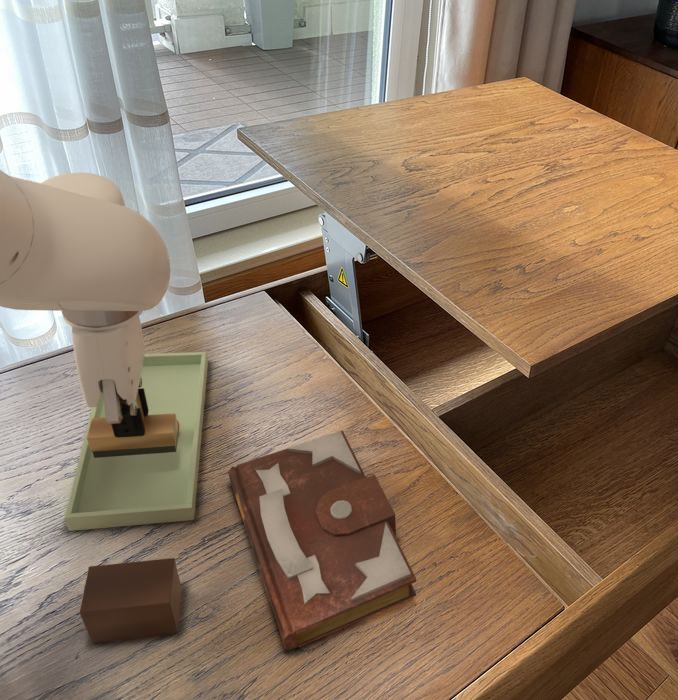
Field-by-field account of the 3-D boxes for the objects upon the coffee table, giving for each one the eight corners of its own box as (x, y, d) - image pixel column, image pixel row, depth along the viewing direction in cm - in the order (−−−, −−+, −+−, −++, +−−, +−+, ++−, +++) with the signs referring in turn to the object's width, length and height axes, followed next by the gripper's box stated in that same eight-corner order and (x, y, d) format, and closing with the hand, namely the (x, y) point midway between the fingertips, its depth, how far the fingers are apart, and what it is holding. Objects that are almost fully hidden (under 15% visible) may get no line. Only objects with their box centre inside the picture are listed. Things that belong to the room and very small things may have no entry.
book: (232, 489, 88) (225, 464, 85) (351, 448, 94) (349, 423, 90) (287, 656, 73) (281, 633, 70) (424, 595, 79) (425, 572, 76)
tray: (194, 520, 83) (191, 507, 82) (69, 531, 80) (64, 518, 78) (208, 364, 103) (206, 351, 101) (108, 368, 100) (104, 355, 98)
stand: (177, 633, 73) (169, 602, 69) (92, 644, 71) (78, 612, 67) (182, 589, 76) (174, 557, 73) (100, 598, 75) (88, 566, 71)
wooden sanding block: (177, 452, 85) (165, 395, 79) (93, 458, 83) (74, 400, 77) (179, 433, 88) (168, 376, 82) (97, 438, 85) (79, 380, 79)
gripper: (76, 253, 76) (108, 379, 88) (40, 350, 65) (83, 481, 76) (151, 253, 78) (173, 376, 90) (130, 347, 66) (159, 476, 78)
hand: (132, 424), depth 83 cm, fingers closed on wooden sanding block, 2 cm apart
